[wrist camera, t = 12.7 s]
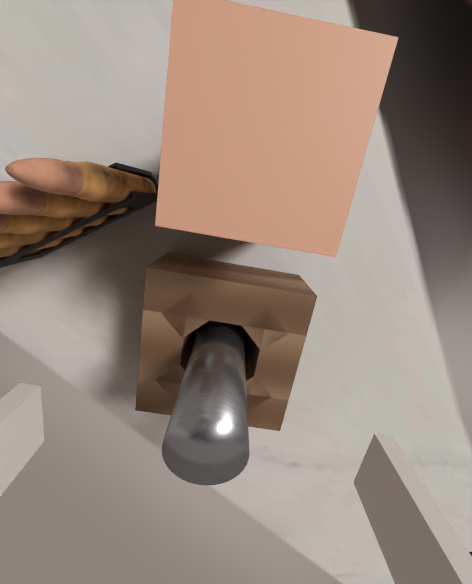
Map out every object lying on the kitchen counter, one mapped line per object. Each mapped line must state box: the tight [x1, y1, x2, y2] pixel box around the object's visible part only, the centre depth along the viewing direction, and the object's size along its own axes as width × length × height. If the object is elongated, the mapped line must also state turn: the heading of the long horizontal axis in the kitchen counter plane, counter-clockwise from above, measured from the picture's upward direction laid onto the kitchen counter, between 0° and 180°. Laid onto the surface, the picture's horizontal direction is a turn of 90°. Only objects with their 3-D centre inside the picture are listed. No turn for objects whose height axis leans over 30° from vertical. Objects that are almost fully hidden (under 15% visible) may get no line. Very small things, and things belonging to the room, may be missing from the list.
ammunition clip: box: [0, 158, 158, 268], centre depth 14 cm, size 11×2×12 cm, turn 114°
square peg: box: [155, 0, 398, 257], centre depth 13 cm, size 6×6×12 cm
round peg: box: [162, 320, 249, 485], centre depth 16 cm, size 3×3×12 cm
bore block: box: [136, 253, 317, 431], centre depth 20 cm, size 10×10×5 cm
